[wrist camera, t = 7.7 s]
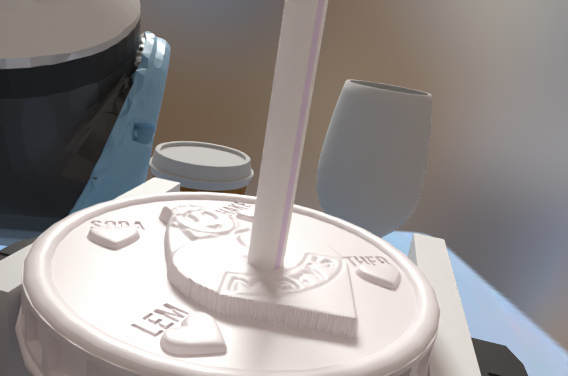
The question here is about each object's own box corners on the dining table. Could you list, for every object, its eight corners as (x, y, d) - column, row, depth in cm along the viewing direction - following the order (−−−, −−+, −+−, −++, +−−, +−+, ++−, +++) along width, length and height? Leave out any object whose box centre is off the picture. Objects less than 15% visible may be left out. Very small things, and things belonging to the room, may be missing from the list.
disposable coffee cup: (148, 246, 54) (157, 135, 50) (238, 255, 55) (253, 147, 52) (131, 291, 45) (141, 159, 41) (239, 300, 46) (257, 173, 43)
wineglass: (321, 313, 46) (368, 79, 40) (396, 353, 42) (461, 98, 36) (267, 344, 40) (312, 75, 34) (348, 395, 36) (416, 98, 30)
